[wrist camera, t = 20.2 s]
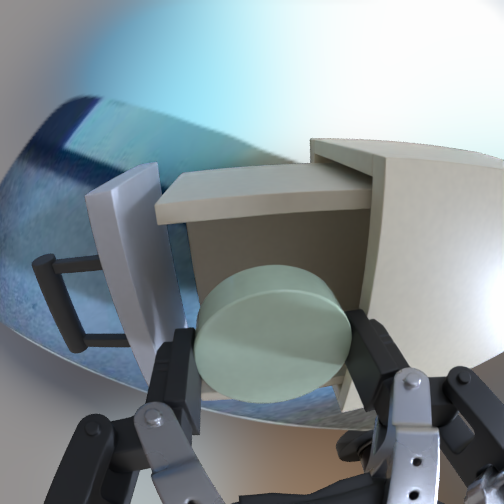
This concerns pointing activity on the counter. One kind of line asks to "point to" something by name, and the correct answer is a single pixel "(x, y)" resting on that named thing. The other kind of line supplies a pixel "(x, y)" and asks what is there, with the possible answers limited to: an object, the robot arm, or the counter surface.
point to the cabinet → (429, 251)
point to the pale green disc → (270, 335)
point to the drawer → (211, 244)
